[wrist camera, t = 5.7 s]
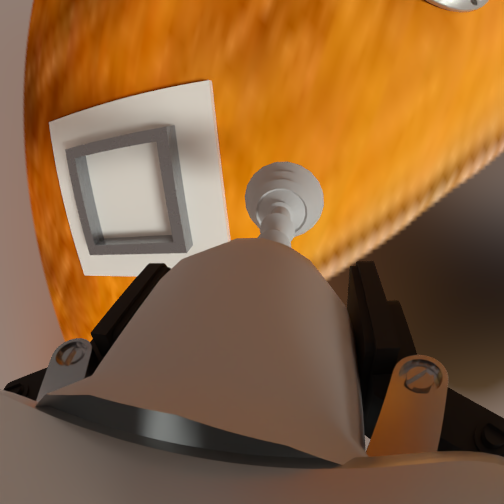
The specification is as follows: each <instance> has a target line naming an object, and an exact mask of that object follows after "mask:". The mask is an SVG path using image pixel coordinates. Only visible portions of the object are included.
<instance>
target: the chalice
mask: <svg viewBox="0 0 504 504" xmlns="http://www.w3.org/2000/svg"><path fill="white" fill-rule="evenodd" d="M245 202H246V209H247V211H248V213H249V215H250V218H251V219H252V221H253V222H254V223H255V224H256V225H257V226H258V227H259V228H260V233H261V234H260V235H259V237H258V238H243V239H234V240H232V241H229V242H226V243H223V244H221V245H218V246H215V247H213V248H210V249H207V250H205V251H202V252H199V253H197V254H194V255H191V256H189V257H186V258H183V259H181V260H180V261H179V262H178V263H177V264H176V265H175V266H174V267H173V268H172V269H171V270H170V271H169V272H167V273H166V274H165V275H164V276H163V277H162V278H161V279H160V280H159V282H158V283H157V284H156V286H155V287H154V288H153V290H152V291H151V293H150V294H149V295H148V297H147V298H146V299H145V301H144V302H143V303H142V305H141V306H140V308H139V309H138V310H137V312H136V313H135V314H134V316H133V317H132V319H131V320H130V321H129V323H128V324H127V326H126V327H125V328H124V330H123V331H122V333H121V334H120V335H119V337H118V338H117V340H116V341H115V343H114V344H113V345H112V347H111V348H110V350H109V351H108V353H107V354H106V356H105V357H104V358H103V360H102V361H101V363H100V364H99V366H98V367H97V369H96V370H95V372H94V373H93V375H92V376H90V377H87V378H85V379H82V380H80V381H78V382H75V383H73V384H70V385H68V386H65V387H63V388H60V389H58V390H55V391H53V392H50V393H48V394H45V396H44V397H43V398H42V399H41V400H40V401H39V402H38V403H37V404H36V406H49V407H52V408H55V409H58V410H60V411H63V412H66V413H68V414H71V415H74V416H78V417H80V418H83V419H85V420H89V421H92V422H95V423H98V424H101V425H104V426H108V427H111V428H115V429H118V430H122V431H125V432H129V433H133V434H137V435H141V436H145V437H149V438H153V439H158V440H162V441H167V442H172V443H177V444H182V445H187V446H193V447H198V448H205V449H211V450H218V451H226V452H234V453H242V454H252V455H263V456H277V457H299V458H322V459H325V460H328V461H331V462H334V463H338V464H341V465H344V464H345V463H346V462H347V461H349V460H351V459H353V458H354V457H369V456H368V455H367V453H366V452H365V435H364V420H363V407H362V395H361V385H360V376H359V366H358V358H357V349H356V341H355V334H354V331H353V327H352V324H351V321H350V317H349V314H348V311H347V308H346V306H345V305H344V304H343V302H342V301H341V300H340V298H339V297H338V296H337V294H336V293H335V292H334V291H333V289H332V288H331V287H330V285H329V284H328V283H327V281H326V280H325V279H324V278H323V276H322V275H321V274H320V273H319V271H318V270H317V269H316V267H315V266H314V265H313V264H312V262H311V261H310V260H308V259H307V258H305V257H304V256H303V255H301V254H300V253H298V252H297V251H295V250H294V249H292V248H291V243H290V242H291V241H292V239H293V238H294V237H295V236H298V235H301V234H303V233H305V232H306V231H308V230H309V229H310V228H312V227H313V226H314V225H315V223H316V222H317V221H318V219H319V218H320V216H321V213H322V209H323V206H324V202H323V192H322V189H321V186H320V184H319V182H318V180H317V179H316V178H315V177H314V175H313V174H312V173H311V172H310V171H308V170H307V169H305V168H304V167H302V166H300V165H297V164H294V163H290V162H275V163H272V164H270V165H267V166H264V167H262V168H261V169H260V170H259V171H258V172H256V173H255V174H254V175H253V177H252V178H251V180H250V182H249V183H248V185H247V189H246V194H245Z"/></svg>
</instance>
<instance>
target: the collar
mask: <svg viewBox="0 0 504 504" xmlns="http://www.w3.org/2000/svg"><path fill="white" fill-rule="evenodd" d="M150 142H157V149H158V156H159V163H160V169H161V175H162V181H163V187H164V193H165V199H166V205H167V210H168V216H169V221H170V226H171V232H172V235H161V236H139V237H120V238H104V237H103V233H102V229H101V225H100V221H99V217H98V213H97V209H96V204H95V200H94V195H93V191H92V186H91V181H90V176H89V171H88V166H87V160H86V155H90V154H95V153H99V152H104V151H108V150H113V149H118V148H123V147H128V146H133V145H139V144H144V143H150ZM65 152H66V158H67V163H68V169H69V174H70V179H71V183H72V188H73V193H74V197H75V201H76V206H77V210H78V214H79V218H80V222H81V226H82V229H83V233H84V237H85V240H86V244H87V247H88V251H89V254H90V255H124V254H170V253H187V252H188V251H189V250H190V248H191V247H192V246H193V241H192V236H191V230H190V224H189V218H188V212H187V206H186V200H185V194H184V187H183V181H182V174H181V167H180V160H179V153H178V146H177V138H176V131H175V125H172V126H166V127H161V128H155V129H150V130H145V131H140V132H135V133H130V134H125V135H120V136H116V137H112V138H107V139H103V140H99V141H95V142H91V143H87V144H83V145H79V146H76V147H72V148H69V149H65Z"/></svg>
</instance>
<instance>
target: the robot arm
mask: <svg viewBox="0 0 504 504" xmlns="http://www.w3.org/2000/svg"><path fill="white" fill-rule="evenodd" d="M426 1H427V2H429V3H431V4H433V5H435V6H438V7H440V8H443V9H446V10H449V11H455V12H470V11H473V10H476V9H478V8H480V7H482V6H484V5H485V4H486V3H487V2H488V0H426ZM170 270H171V268H170V267H167V266H166V264H165V263H149V264H148V265H147V266H146V267H145V268H144V269H143V270H142V272H141V273H140V274H139V275H138V276H137V277H136V279H135V280H134V281H133V282H132V283H131V284H130V286H129V287H128V288H127V289H126V290H125V292H124V293H123V294H122V295H121V296H120V297H119V299H118V300H117V301H116V302H115V303H114V305H113V306H112V307H111V308H110V310H109V311H108V312H107V313H106V314H105V316H104V317H103V318H102V319H101V321H100V322H99V323H98V324H97V326H96V327H95V328H94V329H93V331H92V332H91V335H92V337H93V339H92V341H91V342H89V341H87V340H85V339H82V338H76V339H72V340H69V341H67V342H64V343H63V344H61V345H60V346H59V347H58V348H57V349H56V350H55V352H54V353H53V355H52V357H51V360H50V363H49V365H48V367H47V368H45V369H42V370H40V371H37V372H35V373H32V374H30V375H27V376H24V377H22V378H19V379H17V380H14V381H12V382H10V383H8V384H7V385H6V387H5V388H4V390H1V389H0V504H504V418H502V417H500V416H498V415H497V414H495V413H493V412H491V411H489V410H488V409H486V408H484V407H482V406H480V405H479V404H477V403H475V402H473V401H471V400H470V399H468V398H466V397H464V396H462V395H461V394H458V393H457V392H455V391H454V390H452V389H450V388H448V374H447V371H446V369H445V367H444V366H443V365H442V364H441V363H440V362H439V361H437V360H435V359H434V358H432V357H428V356H425V355H417V353H416V350H415V347H414V343H413V340H412V337H411V334H410V331H409V328H408V325H407V322H406V319H405V316H404V314H403V310H402V308H401V305H400V303H399V301H397V300H394V301H387V300H386V297H385V294H384V291H383V288H382V285H381V282H380V278H379V275H378V273H377V270H376V267H375V264H374V262H373V261H357V262H356V266H350V270H349V287H348V300H347V311H348V314H349V317H350V321H351V324H352V327H353V331H354V334H355V341H356V349H357V358H358V366H359V376H360V385H361V395H362V407H363V420H364V435H366V436H367V437H368V438H370V439H371V440H370V442H369V445H368V447H367V450H366V453H367V455H368V456H369V457H354V458H353V459H351V460H349V461H347V462H346V463H345V464H344V465H341V464H338V463H334V462H331V461H328V460H325V459H322V458H299V457H277V456H263V455H252V454H242V453H234V452H226V451H218V450H211V449H205V448H198V447H193V446H187V445H182V444H177V443H172V442H167V441H162V440H158V439H153V438H149V437H145V436H141V435H137V434H133V433H129V432H125V431H122V430H118V429H115V428H111V427H108V426H104V425H101V424H98V423H95V422H92V421H89V420H85V419H83V418H80V417H78V416H74V415H71V414H68V413H66V412H63V411H60V410H58V409H55V408H52V407H49V406H36V404H37V403H38V402H39V401H40V400H41V399H42V398H43V397H44V396H45V394H48V393H50V392H53V391H55V390H58V389H60V388H63V387H65V386H68V385H70V384H73V383H75V382H78V381H80V380H82V379H85V378H87V377H90V376H92V375H93V373H94V372H95V370H96V369H97V367H98V366H99V364H100V363H101V361H102V360H103V358H104V357H105V356H106V354H107V353H108V351H109V350H110V348H111V347H112V345H113V344H114V343H115V341H116V340H117V338H118V337H119V335H120V334H121V333H122V331H123V330H124V328H125V327H126V326H127V324H128V323H129V321H130V320H131V319H132V317H133V316H134V314H135V313H136V312H137V310H138V309H139V308H140V306H141V305H142V303H143V302H144V301H145V299H146V298H147V297H148V295H149V294H150V293H151V291H152V290H153V288H154V287H155V286H156V284H157V283H158V282H159V280H160V279H161V278H162V277H163V276H164V275H165V274H166V273H167V272H169V271H170Z"/></svg>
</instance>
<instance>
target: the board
mask: <svg viewBox="0 0 504 504" xmlns="http://www.w3.org/2000/svg"><path fill="white" fill-rule="evenodd" d="M172 125H175V131H176V138H177V146H178V153H179V160H180V167H181V174H182V181H183V187H184V194H185V200H186V206H187V212H188V218H189V224H190V230H191V236H192V241H193V246H192V247H191V248H190V250H189V251H188V252H187V253H170V254H124V255H90V254H89V251H88V247H87V244H86V240H85V237H84V233H83V229H82V226H81V222H80V218H79V214H78V210H77V206H76V201H75V197H74V193H73V188H72V183H71V179H70V174H69V169H68V163H67V158H66V152H65V149H69V148H72V147H76V146H79V145H83V144H87V143H91V142H95V141H99V140H103V139H107V138H112V137H116V136H120V135H125V134H130V133H135V132H140V131H145V130H150V129H155V128H161V127H166V126H172ZM49 127H50V134H51V140H52V147H53V153H54V158H55V164H56V169H57V174H58V179H59V183H60V188H61V192H62V197H63V201H64V205H65V209H66V213H67V217H68V221H69V225H70V229H71V232H72V236H73V239H74V243H75V246H76V249H77V253H78V256H79V259H80V262H81V265H82V269H83V272H84V275H91V276H138V275H139V274H140V273H141V272H142V270H143V269H144V268H145V267H146V266H147V265H148V264H149V263H165V264H166V266H167V267H170V268H171V269H172V268H173V267H174V266H175V265H176V264H177V263H178V262H179V261H180V260H181V259H183V258H186V257H189V256H191V255H194V254H197V253H199V252H202V251H205V250H207V249H210V248H213V247H215V246H218V245H221V244H223V243H226V242H229V241H231V240H230V232H229V225H228V217H227V209H226V201H225V193H224V184H223V176H222V168H221V159H220V151H219V142H218V133H217V124H216V115H215V106H214V97H213V88H212V81H210V80H208V81H201V82H195V83H190V84H184V85H179V86H174V87H169V88H164V89H160V90H155V91H151V92H146V93H142V94H138V95H134V96H130V97H126V98H123V99H119V100H115V101H112V102H108V103H105V104H102V105H98V106H95V107H92V108H89V109H85V110H82V111H79V112H76V113H73V114H71V115H68V116H65V117H62V118H59V119H57V120H54V121H51V122H49ZM86 160H87V166H88V171H89V176H90V181H91V186H92V191H93V195H94V200H95V204H96V209H97V213H98V217H99V221H100V225H101V229H102V233H103V237H104V238H120V237H139V236H161V235H172V232H171V226H170V221H169V216H168V210H167V205H166V199H165V193H164V187H163V181H162V175H161V169H160V163H159V156H158V149H157V142H150V143H144V144H139V145H133V146H128V147H123V148H118V149H113V150H108V151H104V152H99V153H95V154H90V155H86Z"/></svg>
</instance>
